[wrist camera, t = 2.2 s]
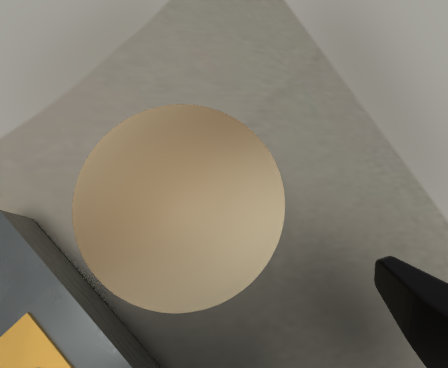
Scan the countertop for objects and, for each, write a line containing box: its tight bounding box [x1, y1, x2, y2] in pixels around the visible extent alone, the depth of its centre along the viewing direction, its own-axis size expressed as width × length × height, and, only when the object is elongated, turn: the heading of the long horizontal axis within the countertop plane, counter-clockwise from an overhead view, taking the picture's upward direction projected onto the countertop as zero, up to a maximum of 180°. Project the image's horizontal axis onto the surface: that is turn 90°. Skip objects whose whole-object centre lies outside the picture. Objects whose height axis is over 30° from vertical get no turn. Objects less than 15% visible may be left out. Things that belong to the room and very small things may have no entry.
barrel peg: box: [72, 104, 285, 313], centre depth 13 cm, size 4×4×12 cm
